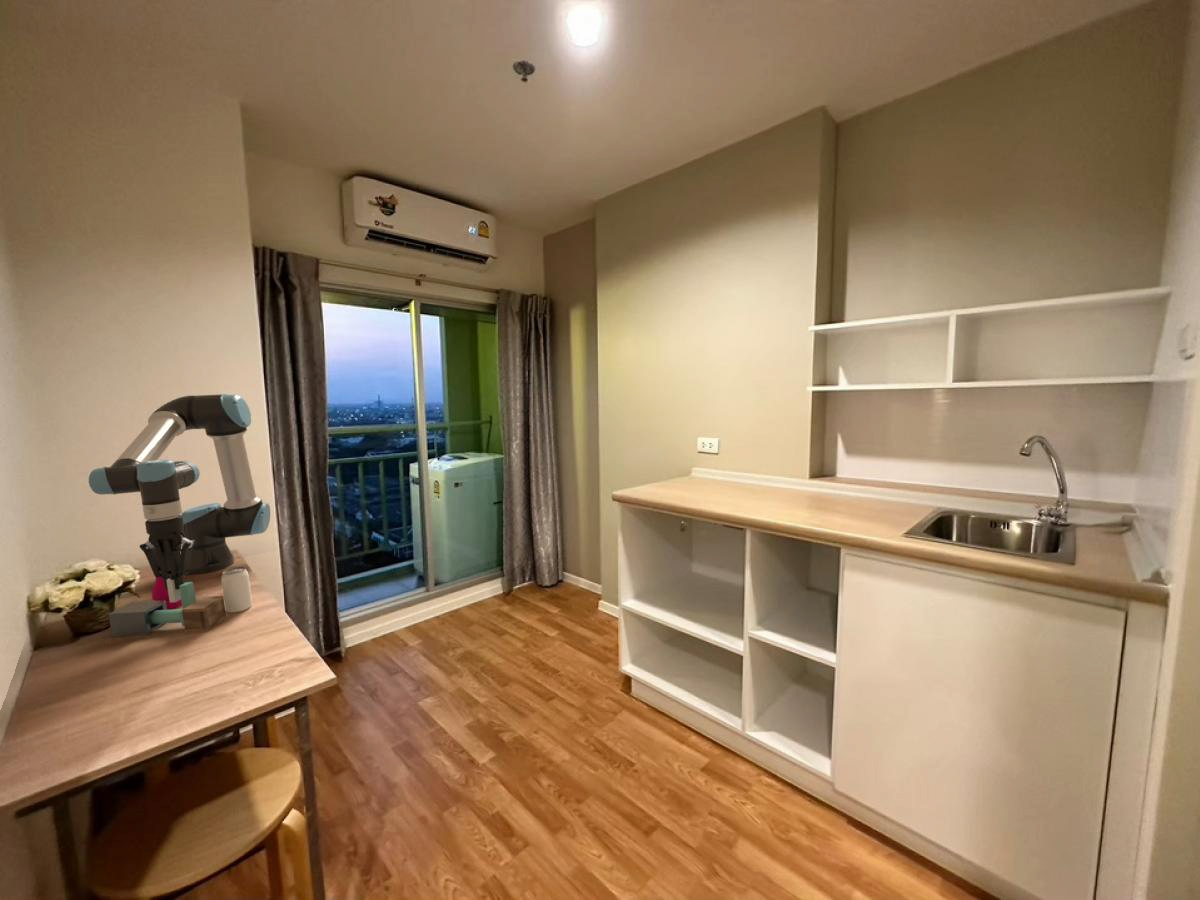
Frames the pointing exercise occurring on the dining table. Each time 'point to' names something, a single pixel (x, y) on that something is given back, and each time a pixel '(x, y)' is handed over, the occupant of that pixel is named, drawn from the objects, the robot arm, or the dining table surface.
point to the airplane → (174, 614)
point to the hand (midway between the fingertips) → (176, 600)
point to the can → (236, 589)
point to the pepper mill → (163, 594)
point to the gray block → (135, 618)
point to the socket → (204, 614)
